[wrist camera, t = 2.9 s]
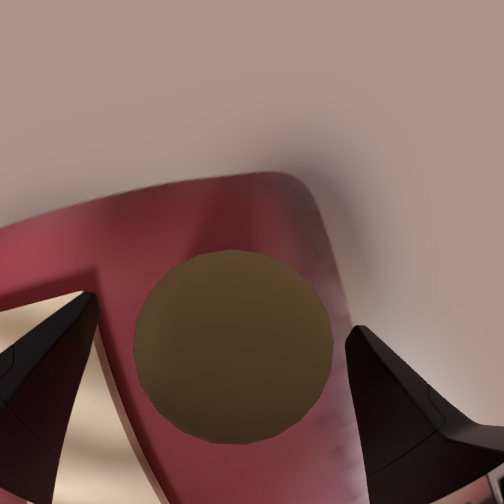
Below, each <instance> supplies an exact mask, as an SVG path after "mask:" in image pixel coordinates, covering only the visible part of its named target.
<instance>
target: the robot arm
mask: <svg viewBox="0 0 504 504" xmlns="http://www.w3.org/2000/svg"><path fill="white" fill-rule="evenodd" d="M98 319H99V306H98V300H97V295H96V294H95V293H92V292H88V291H85V292H83V293H81V294H80V295H78V296H77V297H75V298H74V299H73V300H71V301H70V302H68V303H67V304H66V305H64V306H63V307H61V308H60V309H59V310H57V311H56V312H54V313H53V314H52V315H50V316H49V317H48V318H46V319H45V320H43V321H42V322H41V323H39V324H38V325H37V326H35V327H34V328H33V329H31V330H30V331H29V332H27V333H26V334H25V335H23V336H22V337H21V338H20V339H18V340H17V341H16V342H14V344H12V345H10V346H9V347H8V348H7V349H5V350H4V351H3V352H1V353H0V504H28V501H29V502H31V503H33V504H52V501H53V494H54V488H55V482H56V477H57V472H58V467H59V462H60V460H59V459H60V457H61V452H62V448H63V443H64V439H65V435H66V431H67V427H68V424H69V420H70V416H71V413H72V409H73V406H74V402H75V399H76V395H77V392H78V389H79V386H80V383H81V380H82V377H83V373H84V371H85V368H86V365H87V362H88V359H89V355H90V352H91V347H92V343H93V339H94V335H95V331H96V327H97V323H98ZM345 351H346V360H347V369H348V378H349V384H350V389H351V394H352V399H353V404H354V409H355V414H356V419H357V424H358V430H359V435H360V441H361V447H362V453H363V459H364V465H365V472H366V477H367V478H366V479H367V486H368V494H369V501H370V504H504V427H503V426H489V425H481V424H478V423H475V422H474V421H472V420H471V419H469V418H468V417H467V416H465V415H464V414H463V413H462V412H460V411H459V410H458V409H457V408H456V407H454V406H453V405H452V404H450V403H449V402H448V401H447V400H446V399H445V398H443V397H442V396H441V395H440V394H439V393H438V392H437V391H436V390H435V389H433V388H432V387H431V386H430V385H429V384H427V382H426V381H425V380H424V379H423V378H422V377H420V375H419V374H418V373H416V372H415V371H414V370H413V369H412V368H411V367H410V366H409V365H408V364H407V363H406V362H405V361H403V360H402V359H401V358H400V357H399V356H398V355H397V354H396V353H394V351H393V350H392V349H390V348H389V347H388V346H387V345H386V344H385V343H384V342H383V341H382V340H381V339H380V338H379V337H377V336H376V335H375V334H374V333H373V332H372V331H371V330H370V329H369V328H367V327H366V326H364V325H356V326H354V327H353V329H352V331H351V332H350V334H349V336H348V337H347V339H346V342H345Z"/></svg>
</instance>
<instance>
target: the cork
mask: <svg viewBox="0 0 504 504" xmlns="http://www.w3.org/2000/svg"><path fill="white" fill-rule="evenodd" d="M333 344H334V341H333V336H332V331H331V327H330V322H329V317H328V313H327V311H326V309H325V308H324V306H323V304H322V302H321V300H320V299H319V297H318V295H317V293H316V292H315V290H314V288H313V287H312V286H311V285H310V284H309V283H308V282H307V281H306V280H305V279H304V278H303V277H301V276H300V275H299V274H298V273H297V272H296V271H295V270H294V269H293V268H292V267H290V266H288V265H286V264H284V263H282V262H280V261H278V260H276V259H274V258H272V257H270V256H267V255H265V254H262V253H255V252H248V251H241V250H234V249H229V250H223V251H217V252H211V253H205V254H199V255H197V256H195V257H194V258H192V259H190V260H188V261H186V262H184V263H182V264H180V265H178V266H176V267H174V268H172V269H171V270H170V271H169V272H168V273H167V274H166V275H165V276H164V277H163V278H162V279H161V280H160V281H159V282H158V284H157V285H156V286H155V287H154V288H153V289H152V290H151V291H150V292H149V294H148V296H147V298H146V301H145V303H144V305H143V307H142V309H141V311H140V313H139V316H138V318H137V320H136V328H135V337H134V348H133V353H134V358H135V362H136V366H137V370H138V374H139V378H140V382H141V385H142V387H143V389H144V390H145V392H146V393H147V395H148V397H149V398H150V400H151V401H152V403H153V404H154V406H155V407H156V409H157V410H158V412H159V413H160V414H162V415H163V416H164V417H165V418H166V419H168V420H169V421H170V422H171V423H173V424H174V425H175V426H176V427H178V428H179V429H180V430H181V431H183V432H185V433H187V434H190V435H192V436H195V437H198V438H200V439H203V440H206V441H209V442H211V443H219V444H241V445H245V444H249V443H253V442H257V441H261V440H264V439H268V438H272V437H275V436H276V435H278V434H280V433H281V432H283V431H284V430H286V429H288V428H289V427H291V426H292V425H294V424H295V423H297V422H299V421H300V420H301V419H302V418H303V416H304V415H305V414H306V413H307V412H308V411H309V410H310V408H311V407H312V406H313V405H314V404H315V402H316V401H317V400H318V399H319V397H320V395H321V393H322V390H323V388H324V386H325V384H326V381H327V379H328V376H329V374H330V372H331V364H332V354H333Z"/></svg>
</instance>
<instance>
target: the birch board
mask: <svg viewBox="0 0 504 504" xmlns="http://www.w3.org/2000/svg"><path fill="white" fill-rule="evenodd" d="M83 292H85V291H78V292H75V293H71V294H67V295H63V296H59V297H56V298H52V299H48V300H44V301H40V302H37V303H33V304H29V305H25V306H22V307H18V308H14V309H11V310H7V311H3V312H0V353H1V352H3V351H4V350H5V349H7V348H8V347H9V346H10V345H12V344H14V342H16V341H17V340H18V339H20V338H21V337H22V336H23V335H25V334H26V333H27V332H29V331H30V330H31V329H33V328H34V327H35V326H37V325H38V324H39V323H41V322H42V321H43V320H45V319H46V318H48V317H49V316H50V315H52V314H53V313H54V312H56V311H57V310H59V309H60V308H61V307H63V306H64V305H66V304H67V303H68V302H70V301H71V300H73V299H74V298H75V297H77V296H78V295H80V294H81V293H83ZM59 460H60V462H59V467H58V472H57V477H56V482H55V488H54V494H53V501H52V504H170V503H169V501H168V500H167V498H166V496H165V494H164V493H163V491H162V489H161V487H160V485H159V484H158V482H157V480H156V478H155V476H154V474H153V472H152V470H151V468H150V466H149V464H148V462H147V460H146V458H145V456H144V454H143V452H142V449H141V447H140V445H139V443H138V441H137V438H136V436H135V434H134V431H133V429H132V427H131V424H130V422H129V419H128V417H127V414H126V412H125V409H124V406H123V404H122V401H121V398H120V396H119V393H118V390H117V387H116V384H115V381H114V378H113V375H112V372H111V369H110V366H109V363H108V359H107V356H106V353H105V349H104V346H103V342H102V338H101V335H100V331H99V327H98V323H97V327H96V331H95V335H94V339H93V343H92V347H91V352H90V355H89V359H88V362H87V365H86V368H85V371H84V373H83V377H82V380H81V383H80V386H79V389H78V392H77V395H76V399H75V402H74V406H73V409H72V413H71V416H70V420H69V424H68V427H67V431H66V435H65V439H64V443H63V448H62V452H61V457H60V459H59ZM28 504H33V503H31V502H29V501H28Z"/></svg>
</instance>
